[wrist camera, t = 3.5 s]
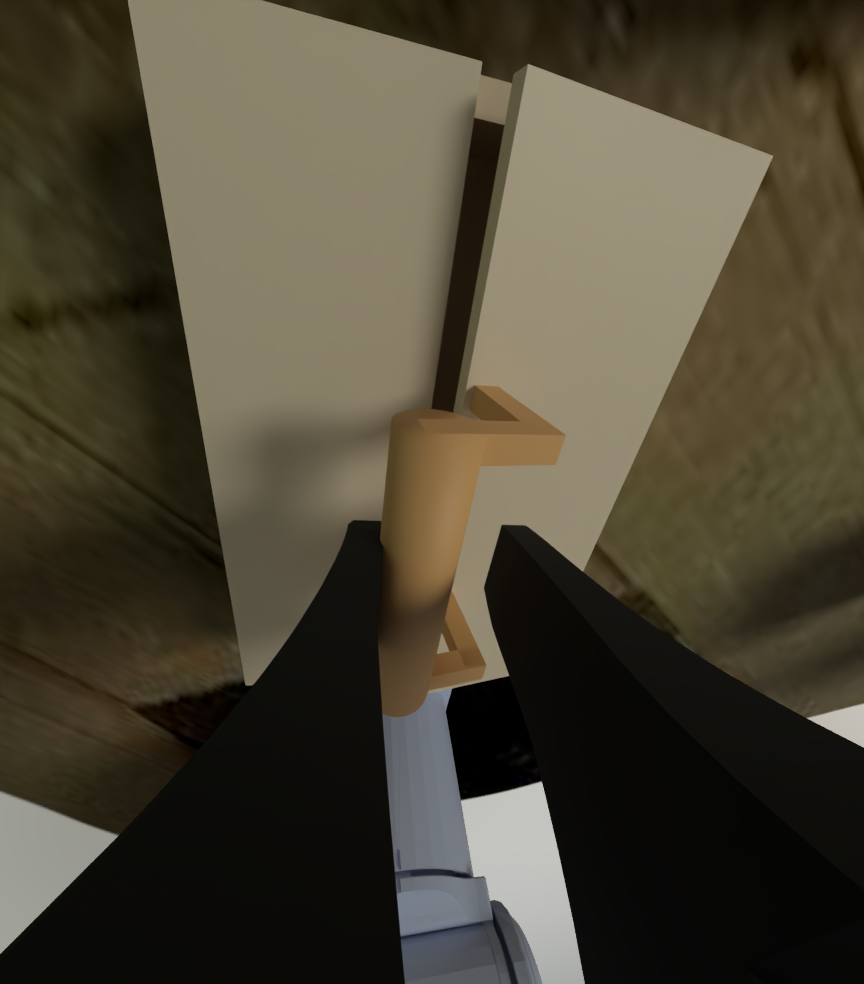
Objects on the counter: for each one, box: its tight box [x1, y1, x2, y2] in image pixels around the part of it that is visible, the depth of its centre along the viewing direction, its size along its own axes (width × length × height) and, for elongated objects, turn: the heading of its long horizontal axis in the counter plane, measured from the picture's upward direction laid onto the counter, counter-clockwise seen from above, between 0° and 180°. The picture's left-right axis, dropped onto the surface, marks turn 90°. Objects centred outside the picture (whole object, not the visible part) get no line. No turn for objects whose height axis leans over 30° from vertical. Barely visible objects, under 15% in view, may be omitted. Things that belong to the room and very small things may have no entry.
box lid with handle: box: [378, 64, 773, 717], centre depth 10 cm, size 18×8×4 cm, turn 171°
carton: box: [128, 0, 754, 685], centre depth 13 cm, size 18×12×4 cm, turn 171°
